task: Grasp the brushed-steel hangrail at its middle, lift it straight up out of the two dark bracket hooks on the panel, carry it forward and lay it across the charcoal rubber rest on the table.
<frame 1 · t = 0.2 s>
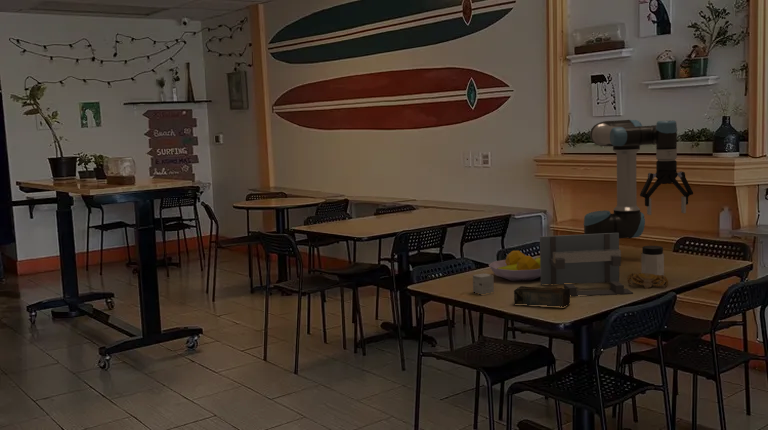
hand: (666, 213, 304), 28 cm above the table, tool pointing down, fingers open, 13 cm apart
rest: (593, 293, 295), on the table
skincare box: (483, 293, 304), on the table
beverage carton: (542, 305, 282), on the table
rail: (586, 261, 303), point 11 cm above the table, touching panel
panel: (580, 283, 314), on the table
fruit bowl: (523, 278, 330), on the table
jar: (652, 275, 323), on the table
crab model: (647, 286, 305), on the table
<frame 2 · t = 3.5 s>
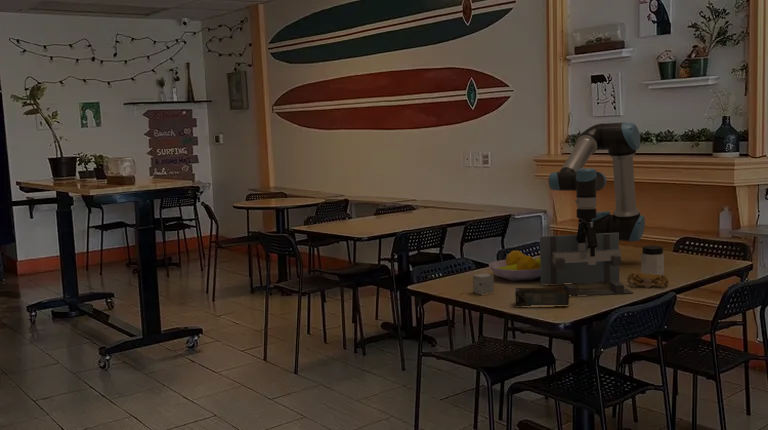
hand: (586, 262, 302), 11 cm above the table, tool pointing down, fingers open, 13 cm apart
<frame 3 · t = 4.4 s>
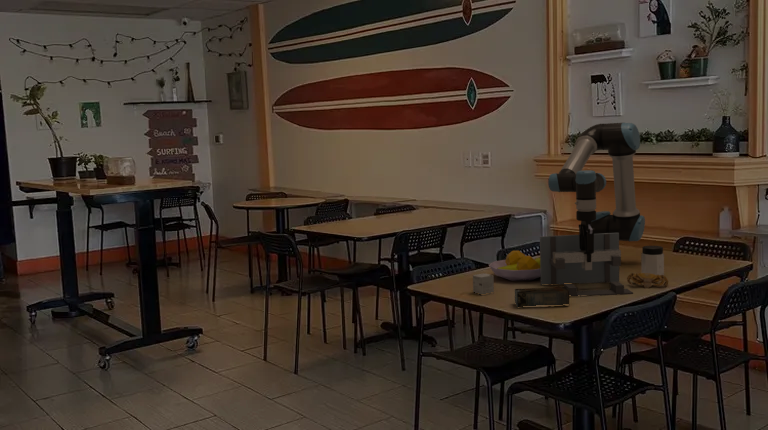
hand: (586, 268, 303), 8 cm above the table, tool pointing down, fingers closed on rail, 3 cm apart
rail: (586, 261, 303), point 11 cm above the table, touching gripper, panel
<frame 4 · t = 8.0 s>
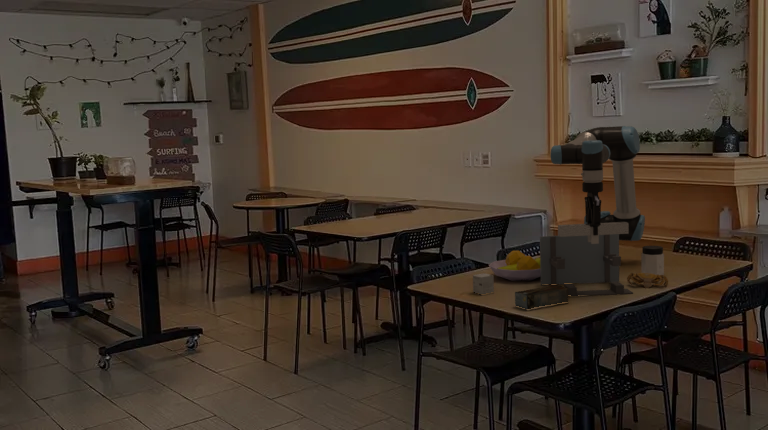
hand: (593, 242, 293), 20 cm above the table, tool pointing down, fingers closed on rail, 3 cm apart
rail: (593, 234, 292), point 23 cm above the table, touching gripper
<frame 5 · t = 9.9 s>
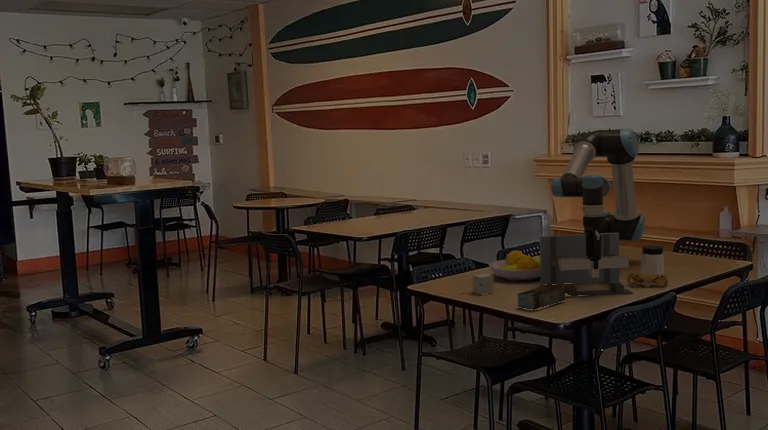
hand: (593, 276, 294), 7 cm above the table, tool pointing down, fingers closed on rail, 3 cm apart
rail: (593, 268, 294), point 10 cm above the table, touching gripper
when the fingers open (2 cm above the table, at t = 11.7 s): rail drops 1 cm, resting on rest.
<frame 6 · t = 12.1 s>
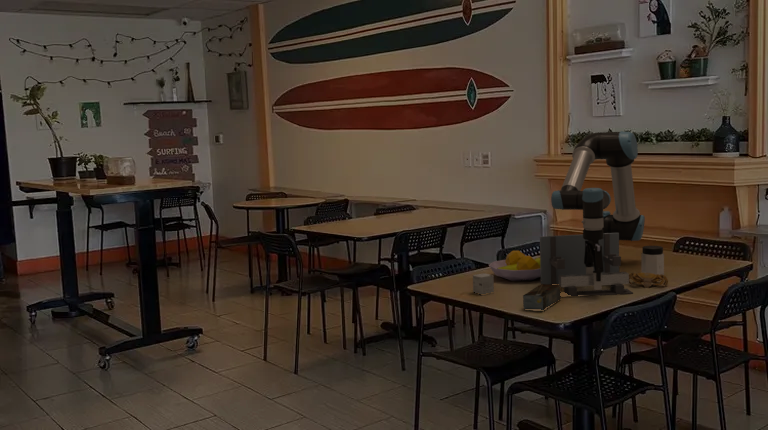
hand: (593, 286, 295), 3 cm above the table, tool pointing down, fingers open, 9 cm apart
rail: (593, 284, 295), point 3 cm above the table, touching rest
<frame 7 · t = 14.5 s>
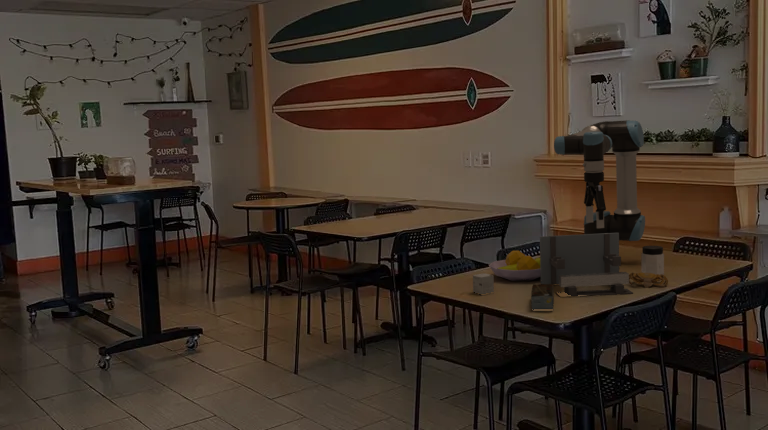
hand: (595, 225, 303), 25 cm above the table, tool pointing down, fingers open, 13 cm apart
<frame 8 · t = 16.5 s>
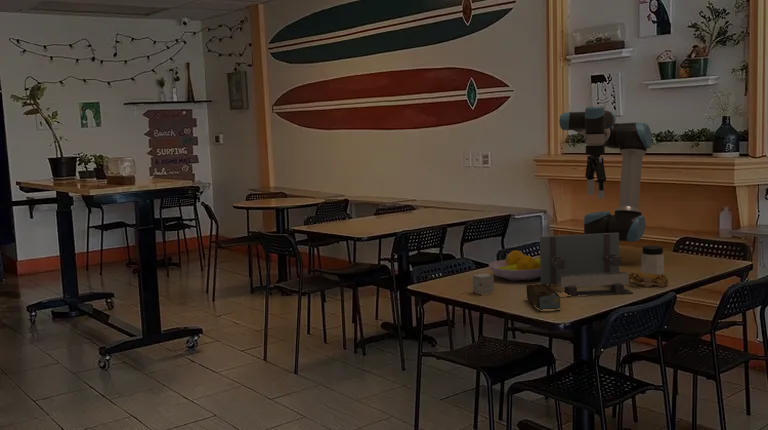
hand: (595, 196, 314), 35 cm above the table, tool pointing down, fingers open, 13 cm apart
at the end: rail inside the target area on the rest (0.0 cm from its centre), point 3.5 cm above the rest's base; rail touching rest; the gripper is holding nothing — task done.
